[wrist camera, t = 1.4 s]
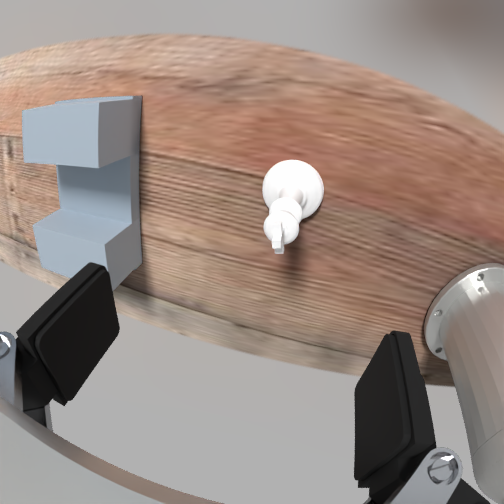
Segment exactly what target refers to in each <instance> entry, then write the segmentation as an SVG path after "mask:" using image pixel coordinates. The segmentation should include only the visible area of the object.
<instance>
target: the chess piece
mask: <svg viewBox="0 0 504 504" xmlns="http://www.w3.org/2000/svg"><path fill="white" fill-rule="evenodd" d="M262 192H263V198H264V201H265V203H266V205H267V206H268V208H269V216H268V217H267V218H266V220H265V222H264V232H265V234H266V236H267V238H268V239H269V240H270V241H272V248H275V254H283V252H284V244H288V243H291V242H292V241H294V240H295V239H296V237H297V235H298V233H299V223H300V222H301V220H302V219H304V218H306V217H308V216H310V215H311V214H313V213H314V212H315V211H316V210H317V208H318V207H319V205H320V203H321V201H322V199H323V194H324V186H323V182H322V179H321V177H320V175H319V174H318V172H317V171H316V170H315V169H314V168H313V167H312V166H310V165H309V164H307V163H305V162H302V161H298V160H286V161H282V162H280V163H278V164H276V165H274V166H273V167H272V168H271V169H270V170H269V171H268V173H267V174H266V176H265V178H264V181H263V188H262Z"/></svg>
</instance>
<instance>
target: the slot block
mask: <svg viewBox="0 0 504 504" xmlns="http://www.w3.org/2000/svg"><path fill="white" fill-rule="evenodd" d="M141 104H142V96H115V97H96V98H83V99H72V100H64V101H57V102H55V104H53V105H47V106H42V107H37V108H32V109H27V110H22V134H23V154H24V162H25V163H41V164H55V165H56V168H57V181H58V192H59V201H60V209H59V210H57V211H55V212H54V213H52V214H50V215H48V216H47V217H45V218H43V219H42V220H40V221H38V222H37V223H35V224H34V225H33V230H34V235H35V240H36V244H37V249H38V253H39V258H40V262H41V266H42V267H43V268H45V269H48V270H50V271H53V272H55V273H58V274H61V275H63V276H66V277H69V278H72V277H73V276H74V275H75V274H76V273H78V272H79V271H80V270H81V269H82V268H83V267H84V266H85V265H87V264H88V263H89V262H93V263H96V264H100V265H103V266H105V267H106V269H107V271H108V272H109V274H110V279H111V285H112V291H114V290H115V289H116V287H117V286H118V285H119V284H120V283H121V282H122V281H123V280H124V279H125V278H126V277H127V276H128V275H129V274H130V273H131V272H132V271H133V270H136V269H137V268H138V267H139V266H140V265H141V264H142V252H141V235H140V209H139V146H140V121H141Z"/></svg>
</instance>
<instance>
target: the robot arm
mask: <svg viewBox="0 0 504 504" xmlns="http://www.w3.org/2000/svg"><path fill="white" fill-rule="evenodd" d="M119 329H120V327H119V323H118V318H117V312H116V307H115V302H114V297H113V291H112V285H111V279H110V274H109V272H108V271H107V269H106V267H105V266H103V265H100V264H96V263H93V262H89V263H88V264H87V265H85V266H84V267H83V268H82V269H81V270H80V271H79V272H78V273H76V274H75V275H74V276H73V277H72V278H71V279H70V280H69V281H68V282H67V283H65V284H64V285H63V286H62V287H61V288H60V289H59V290H58V291H57V292H56V293H55V294H54V295H53V296H52V297H51V298H50V299H49V300H48V301H46V302H45V303H44V304H43V305H42V306H41V308H39V309H38V310H37V311H36V312H35V313H34V314H33V315H32V316H31V317H30V318H29V320H27V321H26V322H25V323H24V324H23V326H22V327H21V328H20V329H19V330H18V331H17V332H16V333H17V335H18V338H17V339H16V340H15V338H14V336H13V335H12V334H11V333H8V332H0V504H223V503H218V502H215V501H211V500H207V499H203V498H200V497H196V496H193V495H190V494H186V493H183V492H180V491H177V490H174V489H171V488H168V487H165V486H163V485H160V484H157V483H154V482H152V481H149V480H147V479H144V478H142V477H139V476H137V475H134V474H132V473H129V472H127V471H125V470H123V469H121V468H118V467H116V466H114V465H112V464H110V463H108V462H106V461H104V460H102V459H100V458H97V457H96V456H94V455H91V454H90V453H88V452H86V451H84V450H82V449H80V448H79V447H77V446H75V445H73V444H72V443H70V442H68V441H67V440H64V439H63V438H62V437H60V436H58V435H57V434H55V433H53V430H52V422H51V414H50V406H49V402H50V401H51V399H52V398H53V399H54V400H55V401H57V402H58V403H60V404H62V405H63V406H65V405H66V403H67V401H71V400H72V399H73V398H74V397H75V395H76V394H77V392H78V391H79V389H80V388H81V387H82V385H83V384H84V382H85V380H86V379H87V378H88V376H89V375H90V374H91V372H92V371H93V369H94V368H95V366H96V365H97V364H98V362H99V361H100V359H101V358H102V357H103V355H104V354H105V352H106V351H107V350H108V348H109V347H110V345H111V344H112V343H113V341H114V340H115V338H116V337H117V336H118V333H119ZM424 335H425V339H426V343H427V345H428V347H429V349H430V351H431V352H432V353H433V354H434V355H435V356H437V357H439V358H440V359H443V360H447V361H448V364H449V367H450V370H451V374H452V377H453V381H454V384H455V388H456V391H457V395H458V399H459V403H460V406H461V410H462V414H463V419H464V423H465V428H466V433H467V438H468V443H469V448H470V453H471V460H472V465H473V472H474V477H475V480H476V483H477V485H478V487H479V488H480V490H481V491H482V492H483V493H484V494H485V495H486V496H488V497H489V498H490V499H492V500H494V501H495V502H496V503H498V504H504V265H501V264H498V263H487V264H481V265H478V266H475V267H473V268H470V269H468V270H466V271H464V272H463V273H461V274H459V275H458V276H457V277H455V278H454V279H453V280H451V281H450V282H449V283H448V284H447V285H446V286H445V287H444V288H443V289H442V290H441V291H440V293H439V294H438V295H437V297H436V298H435V299H434V301H433V303H432V304H431V306H430V308H429V310H428V313H427V316H426V318H425V324H424ZM461 476H462V463H461V460H460V458H459V456H458V455H457V454H456V453H455V452H454V451H453V450H451V449H449V448H444V447H440V448H436V441H435V435H434V429H433V423H432V417H431V411H430V406H429V401H428V396H427V391H426V387H425V382H424V379H423V377H422V376H421V374H420V370H419V366H418V362H417V358H416V354H415V350H414V346H413V342H412V339H411V336H410V334H409V333H406V332H400V331H392V332H391V333H390V334H386V335H385V336H384V338H383V340H382V341H381V343H380V345H379V347H378V349H377V351H376V352H375V354H374V356H373V358H372V359H371V361H370V363H369V365H368V366H367V368H366V370H365V371H364V373H363V375H362V376H361V378H360V380H359V381H358V383H357V385H356V388H355V462H354V478H355V480H358V488H369V498H368V500H367V501H366V502H365V503H364V504H490V503H489V501H487V500H486V499H485V498H484V497H482V496H481V495H480V494H479V493H478V492H477V491H476V490H474V489H473V488H472V487H471V486H469V485H468V484H467V483H466V482H465V481H464V480H462V479H461Z"/></svg>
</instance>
